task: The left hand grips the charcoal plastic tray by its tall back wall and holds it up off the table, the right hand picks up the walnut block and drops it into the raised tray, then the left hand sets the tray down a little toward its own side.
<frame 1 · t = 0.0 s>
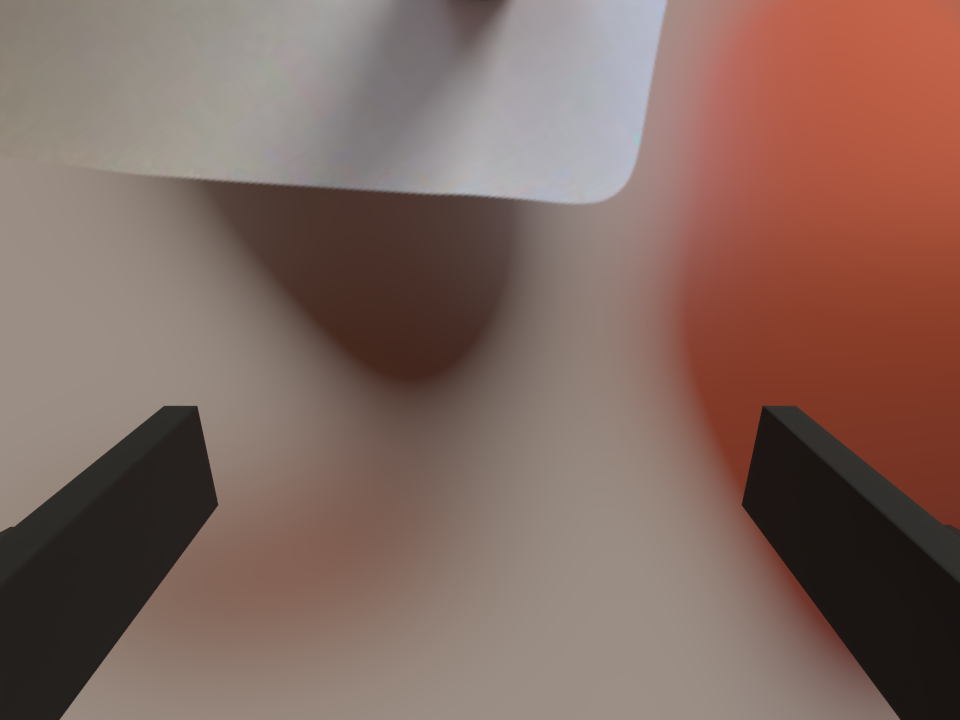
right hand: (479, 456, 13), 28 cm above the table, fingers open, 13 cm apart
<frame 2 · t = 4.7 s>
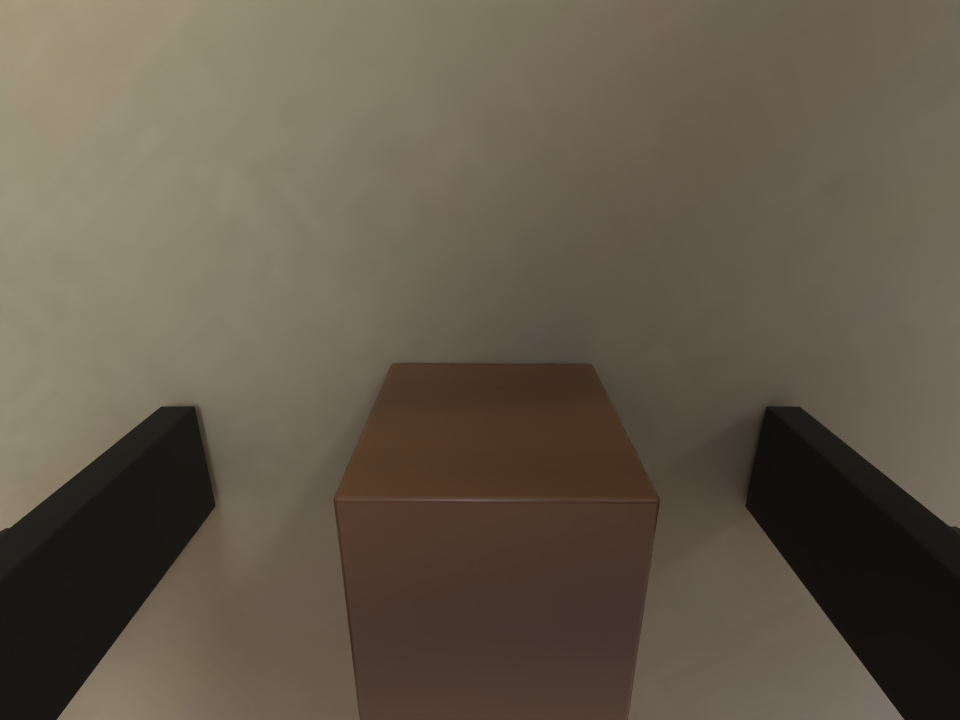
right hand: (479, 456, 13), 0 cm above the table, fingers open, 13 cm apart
walnut block: (490, 450, 13), on the table
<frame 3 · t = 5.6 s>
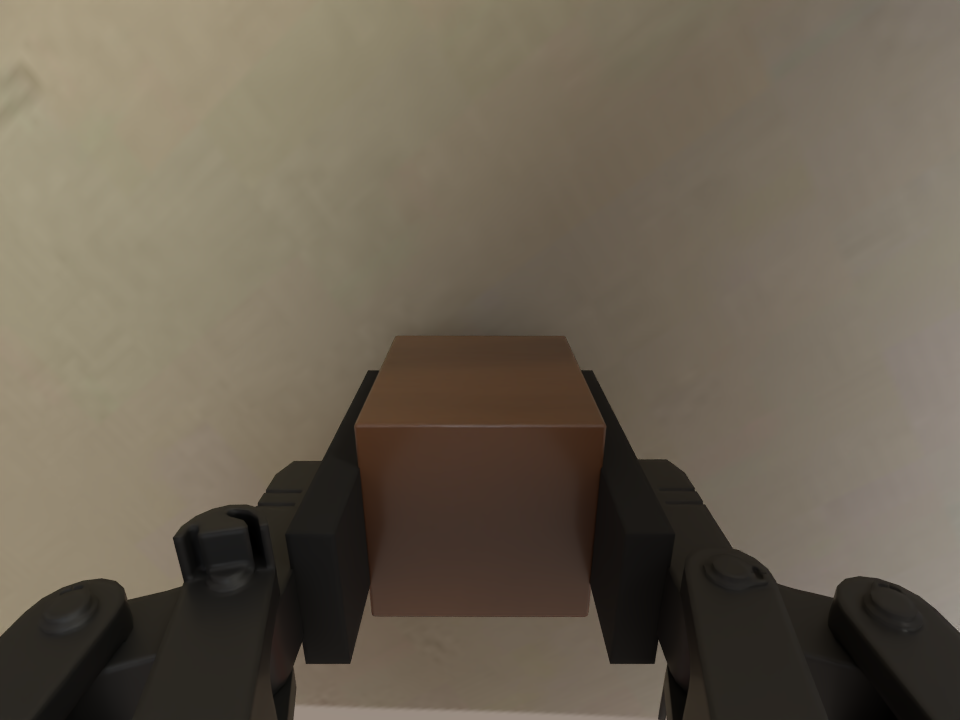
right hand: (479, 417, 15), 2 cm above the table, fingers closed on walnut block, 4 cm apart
walnut block: (480, 411, 15), point 2 cm above the table, touching right hand
when the right hand's fingers open (17 cm above the table, at t = 12.5 s): walnut block drops 14 cm, resting on tray.
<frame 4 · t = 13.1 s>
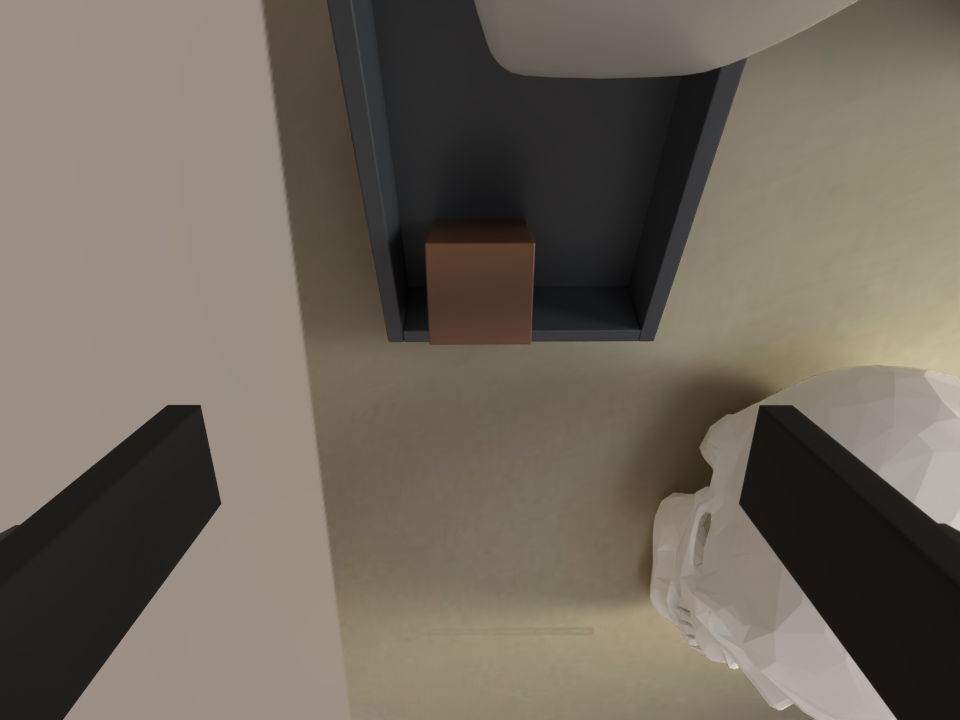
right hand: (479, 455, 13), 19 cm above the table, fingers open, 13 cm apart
tray: (531, 64, 22), point 5 cm above the table, tilted 26°, touching left hand, walnut block
skull: (751, 478, 35), on the table
walnut block: (480, 265, 27), point 3 cm above the table, touching tray
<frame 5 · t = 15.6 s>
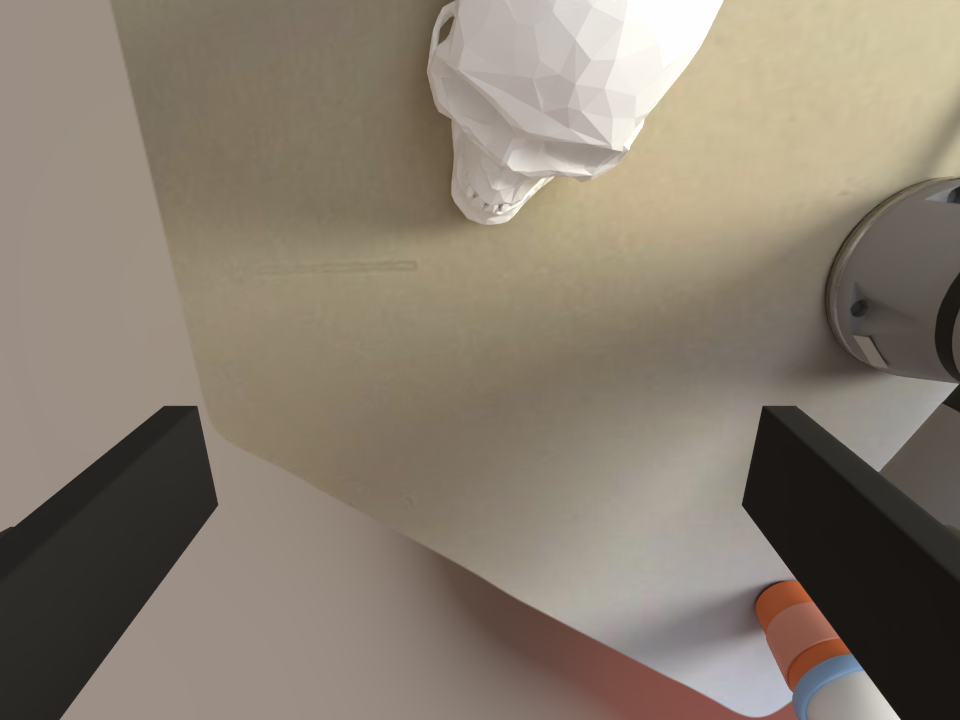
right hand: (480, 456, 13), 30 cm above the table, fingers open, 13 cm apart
cup with straw: (783, 601, 55), on the table
skull: (539, 67, 37), on the table
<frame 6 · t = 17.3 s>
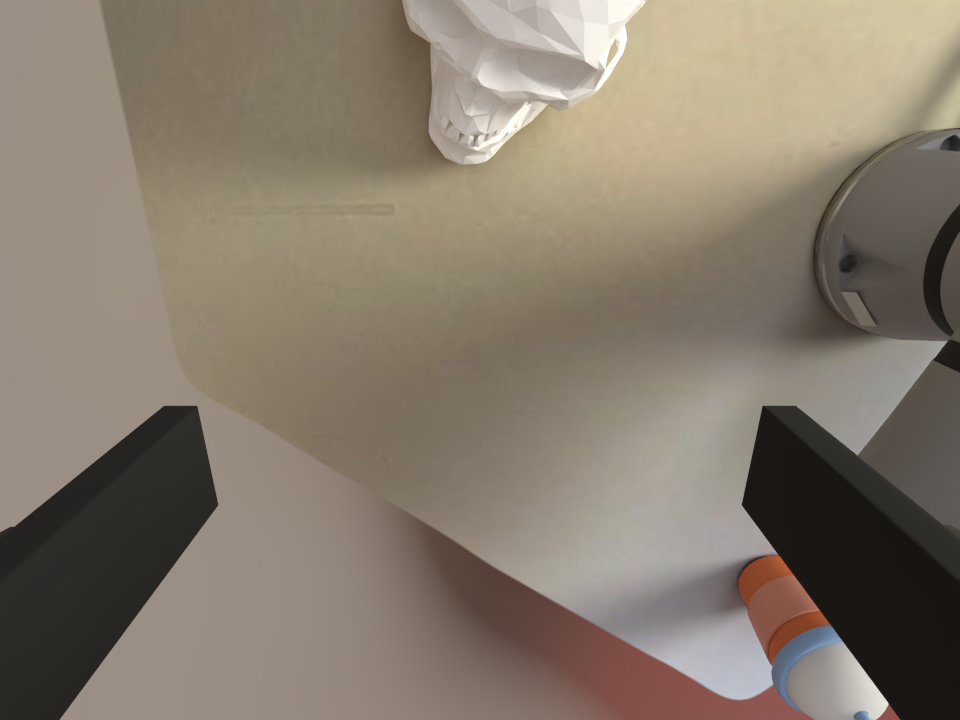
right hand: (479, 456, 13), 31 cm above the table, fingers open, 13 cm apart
cup with straw: (767, 577, 53), on the table
skull: (522, 1, 36), on the table
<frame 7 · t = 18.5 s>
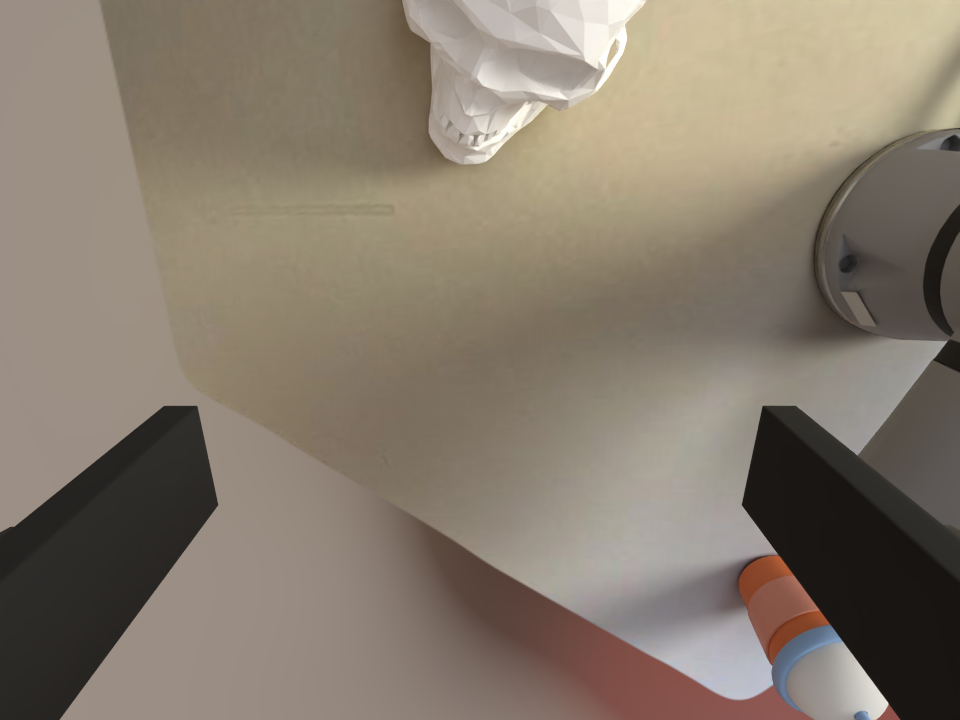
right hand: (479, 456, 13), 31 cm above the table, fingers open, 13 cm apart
cup with straw: (767, 577, 53), on the table
skull: (522, 1, 36), on the table
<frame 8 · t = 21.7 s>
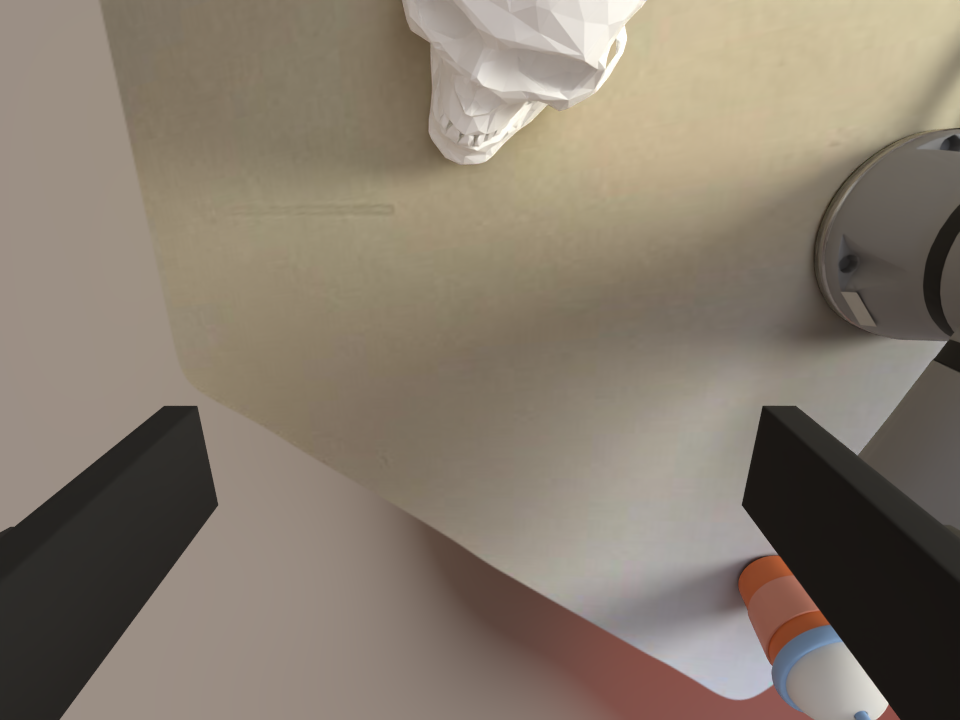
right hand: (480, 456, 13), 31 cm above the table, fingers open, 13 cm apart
cup with straw: (767, 577, 53), on the table
skull: (522, 1, 36), on the table
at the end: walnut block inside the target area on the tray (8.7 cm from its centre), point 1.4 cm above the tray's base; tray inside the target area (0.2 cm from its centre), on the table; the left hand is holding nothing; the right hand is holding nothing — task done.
